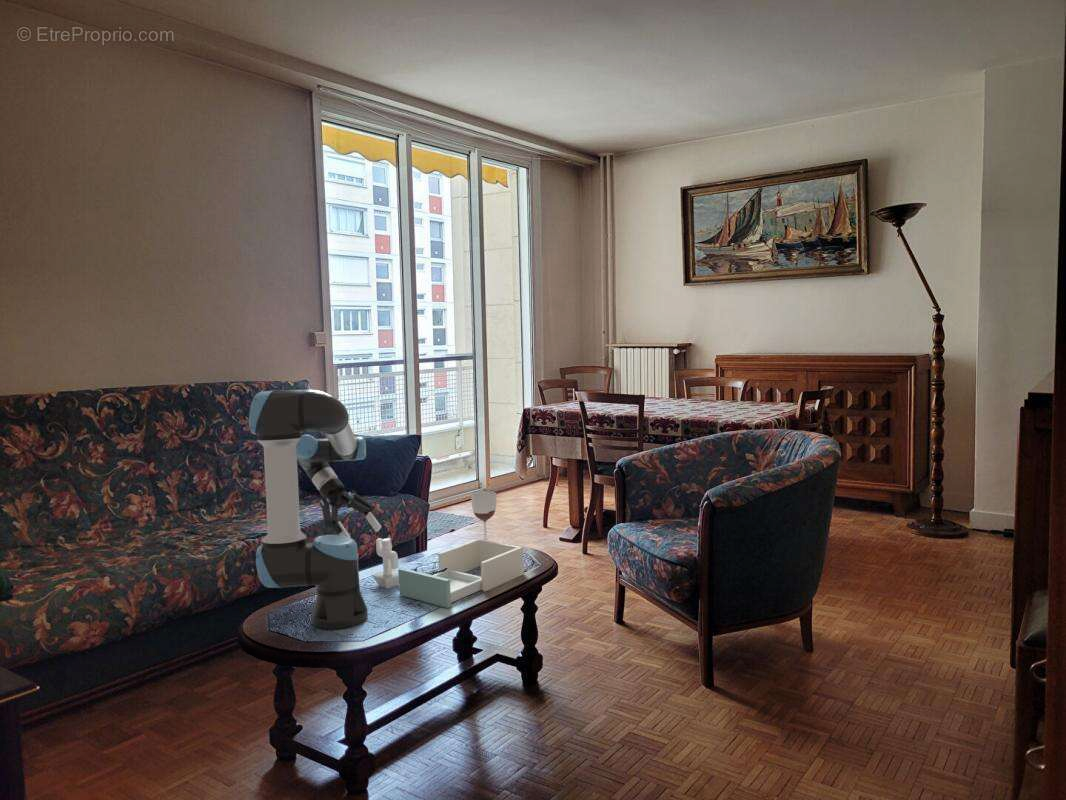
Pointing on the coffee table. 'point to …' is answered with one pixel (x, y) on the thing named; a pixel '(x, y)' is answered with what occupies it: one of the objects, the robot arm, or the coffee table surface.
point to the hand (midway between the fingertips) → (363, 534)
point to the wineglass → (484, 506)
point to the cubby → (485, 561)
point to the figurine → (387, 564)
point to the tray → (438, 586)
